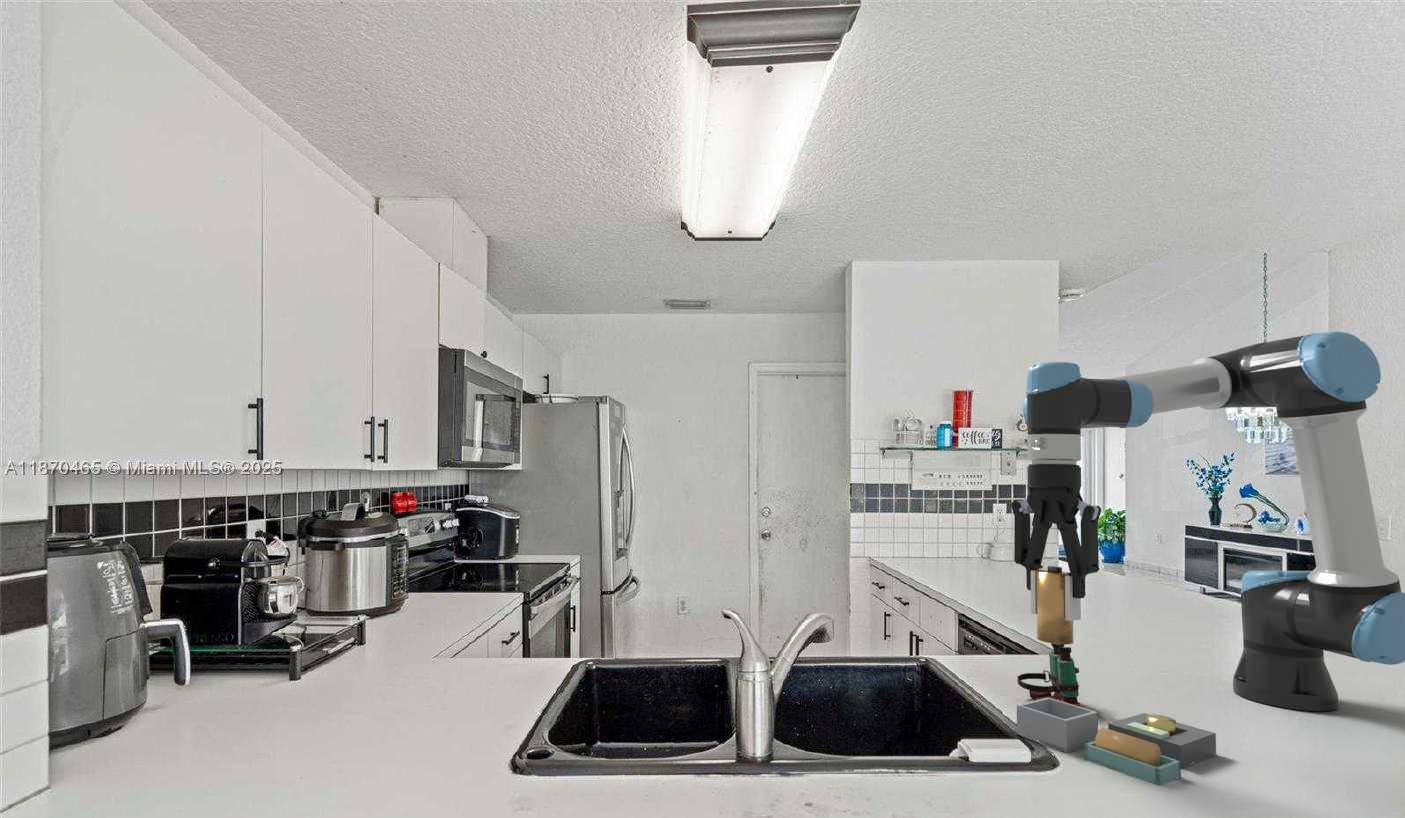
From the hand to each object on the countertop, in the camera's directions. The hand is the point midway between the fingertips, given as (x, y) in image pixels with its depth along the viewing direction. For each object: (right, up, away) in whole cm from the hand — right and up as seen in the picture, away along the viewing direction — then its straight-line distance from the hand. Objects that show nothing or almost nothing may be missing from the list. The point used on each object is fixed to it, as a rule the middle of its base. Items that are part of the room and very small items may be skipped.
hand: (1055, 615), depth 114 cm
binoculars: (+6, -20, +16) cm, 26 cm away
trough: (+5, -17, -12) cm, 22 cm away
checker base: (+13, -18, -4) cm, 23 cm away
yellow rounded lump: (+13, -16, -4) cm, 22 cm away
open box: (0, -18, -1) cm, 18 cm away
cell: (0, -4, 0) cm, 4 cm away
